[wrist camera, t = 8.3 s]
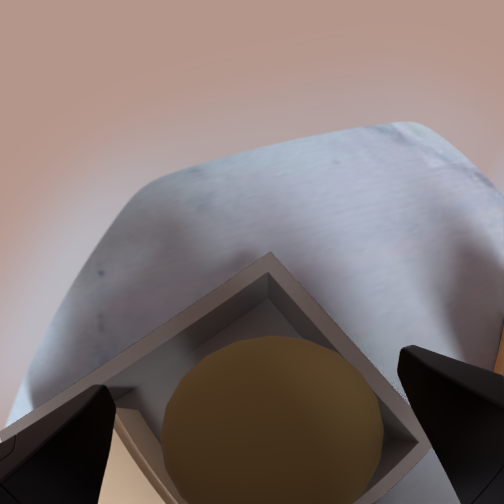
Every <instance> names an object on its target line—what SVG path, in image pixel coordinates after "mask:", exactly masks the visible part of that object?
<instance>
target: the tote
mask: <svg viewBox="0 0 504 504" xmlns="http://www.w3.org/2000/svg"><path fill="white" fill-rule="evenodd" d="M270 335H273V336H282V337H291V338H301V339H307V340H309V341H311V342H314V343H316V344H319V345H321V346H323V347H326V348H328V349H331V350H333V351H336V352H337V353H338V354H339V355H341V356H342V357H343V358H344V359H345V360H347V361H348V362H349V363H350V364H351V365H353V366H354V367H355V368H356V369H357V370H359V371H360V372H361V373H362V375H363V376H364V378H365V380H366V381H367V383H368V385H369V386H370V388H371V389H372V391H373V393H374V394H375V396H376V398H377V399H378V404H379V408H380V413H381V417H382V422H383V427H384V435H383V443H382V450H381V457H380V462H379V464H378V466H377V468H376V470H375V472H374V474H373V476H372V478H371V480H370V482H369V484H368V486H367V488H366V489H365V491H364V492H363V493H362V494H361V495H360V496H359V497H358V498H357V499H356V500H355V501H354V502H353V503H352V504H374V503H375V502H376V501H378V500H379V499H380V498H381V497H382V496H383V495H385V494H386V493H387V492H388V491H389V490H390V489H391V488H392V487H393V486H394V485H396V484H397V483H398V482H399V481H400V480H401V479H402V478H403V477H404V476H405V475H406V474H407V473H408V472H409V471H410V470H411V469H412V468H413V467H414V466H415V465H416V464H417V463H418V462H419V461H420V460H421V459H422V457H423V456H424V455H425V454H426V453H427V452H428V451H429V450H430V449H431V447H432V445H431V443H430V442H429V440H428V438H427V436H426V434H425V432H424V431H423V429H422V427H421V425H420V423H419V422H418V420H417V418H416V416H415V414H414V412H413V410H412V408H411V407H410V406H409V405H408V404H407V402H406V401H405V400H404V399H403V398H402V397H401V396H400V395H399V393H398V392H397V391H396V390H395V389H394V388H393V387H392V385H391V384H390V383H389V382H388V381H387V380H386V379H385V378H384V376H383V375H382V374H381V373H380V372H379V371H378V370H377V369H376V367H375V366H374V365H373V364H372V363H371V362H370V361H369V360H368V358H367V357H366V356H365V355H364V354H363V353H362V352H361V351H360V349H359V348H358V347H357V346H356V345H355V344H354V343H353V342H352V341H351V339H350V338H349V337H348V336H347V335H346V334H345V333H344V332H343V331H342V329H341V328H340V327H339V326H338V325H337V324H336V323H335V322H334V321H333V319H332V318H331V317H330V316H329V315H328V314H327V313H326V312H325V311H324V310H323V308H322V307H321V306H320V305H319V304H318V303H317V302H316V301H315V300H314V299H313V297H312V296H311V295H310V294H309V293H308V292H307V291H306V290H305V289H304V288H303V287H302V285H301V284H300V283H299V282H298V281H297V280H296V279H295V278H294V277H293V276H292V275H291V273H290V272H289V271H288V270H287V269H286V268H285V267H284V266H283V265H282V264H281V263H280V261H279V260H278V259H277V258H276V257H275V256H274V255H273V254H272V253H271V252H269V253H268V254H266V255H265V256H263V257H262V258H260V259H259V260H257V261H256V262H255V263H253V264H252V265H250V266H249V267H247V268H246V269H244V270H243V271H241V272H240V273H238V274H237V275H235V276H234V277H233V278H231V279H230V280H228V281H227V282H225V283H224V284H222V285H221V286H219V287H218V288H216V289H215V290H213V291H212V292H211V293H209V294H208V295H206V296H205V297H203V298H202V299H200V300H199V301H197V302H196V303H194V304H193V305H191V306H190V307H188V308H187V309H185V310H184V311H182V312H181V313H179V314H178V315H177V316H175V317H174V318H172V319H171V320H169V321H168V322H166V323H165V324H163V325H162V326H160V327H159V328H157V329H156V330H154V331H153V332H151V333H150V334H148V335H147V336H145V337H144V338H142V339H141V340H139V341H138V342H136V343H135V344H133V345H132V346H130V347H129V348H127V349H126V350H124V351H123V352H121V353H120V354H118V355H117V356H115V357H114V358H112V359H111V360H109V361H108V362H106V363H105V364H103V365H102V366H100V367H99V368H97V369H96V370H94V371H93V372H91V373H90V374H88V375H86V376H85V377H83V378H82V379H80V380H79V381H77V382H76V383H74V384H73V385H71V386H70V387H68V388H67V389H65V390H64V391H62V392H61V393H59V394H57V395H56V396H54V397H53V398H51V399H50V400H48V401H47V402H45V403H44V404H42V405H41V406H39V407H37V408H36V409H34V410H33V411H31V412H30V413H28V414H27V415H25V416H24V417H22V418H20V419H19V420H17V421H16V422H14V423H13V424H11V425H10V426H8V427H6V428H5V429H3V430H2V431H0V438H1V441H2V442H3V441H5V440H7V439H8V438H10V437H12V436H13V435H15V434H16V435H17V433H18V432H20V431H21V430H23V429H25V428H26V427H28V426H29V425H31V424H33V423H34V422H36V421H37V420H39V419H41V418H42V417H44V416H45V415H47V414H48V413H50V412H52V411H53V410H55V409H56V408H58V407H59V406H61V405H62V404H64V403H66V402H67V401H69V400H70V399H72V398H73V397H75V396H76V395H78V394H79V393H81V392H83V391H84V390H86V389H87V388H89V387H90V386H92V385H94V384H103V385H106V386H107V388H108V389H109V392H110V394H111V396H112V398H113V400H114V402H115V405H116V408H125V409H135V410H139V412H140V414H141V415H142V417H143V418H144V420H145V422H146V423H147V425H148V426H149V428H150V429H151V431H152V432H153V434H154V435H155V437H156V438H157V440H158V441H159V443H160V444H161V440H160V435H161V430H162V424H163V419H164V414H165V408H166V405H167V403H168V402H169V400H170V398H171V396H172V395H173V393H174V391H175V389H176V388H177V386H178V384H179V382H180V381H181V379H182V378H183V377H184V376H185V375H186V374H187V373H188V372H189V371H190V370H192V369H193V368H194V367H195V366H196V365H197V364H198V363H199V362H200V361H201V360H202V359H204V358H205V357H206V356H207V355H209V354H211V353H213V352H216V351H218V350H220V349H222V348H224V347H226V346H228V345H230V344H232V343H234V342H236V341H241V340H247V339H253V338H259V337H264V336H270Z"/></svg>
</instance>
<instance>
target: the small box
mask: <svg viewBox="0 0 504 504" xmlns="http://www.w3.org/2000/svg"><path fill="white" fill-rule="evenodd" d="M493 372H495V373H498V374H501V375H503V376H504V325H503V332H502V337H501V342H500V346H499V351H498V355H497V359H496V362H495V366H494V370H493Z"/></svg>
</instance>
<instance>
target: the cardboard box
mask: <svg viewBox="0 0 504 504" xmlns="http://www.w3.org/2000/svg"><path fill="white" fill-rule="evenodd" d="M98 504H188V503H187V502H186V501H185V500H184V499H183V498H182V497H181V496H180V494H179V492H178V490H177V489H176V487H175V485H174V483H173V482H172V480H171V478H170V476H169V474H168V473H167V471H166V469H165V464H164V458H163V452H162V446H161V444H160V443H159V441H158V440H157V438H156V437H155V435H154V434H153V432H152V431H151V429H150V428H149V426H148V425H147V423H146V422H145V420H144V418H143V417H142V415H141V414H140V412H139V410H135V409H125V408H116V416H115V422H114V429H113V436H112V443H111V449H110V453H109V458H108V462H107V466H106V470H105V474H104V478H103V483H102V487H101V492H100V496H99V501H98Z"/></svg>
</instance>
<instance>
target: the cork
mask: <svg viewBox="0 0 504 504" xmlns="http://www.w3.org/2000/svg"><path fill="white" fill-rule="evenodd" d="M383 435H384V427H383V422H382V417H381V413H380V408H379V404H378V399H377V398H376V396H375V394H374V393H373V391H372V389H371V388H370V386H369V385H368V383H367V381H366V380H365V378H364V376H363V375H362V373H361V372H360V371H359V370H357V369H356V368H355V367H354V366H353V365H351V364H350V363H349V362H348V361H347V360H345V359H344V358H343V357H342V356H341V355H339V354H338V353H337V352H336V351H333V350H331V349H328V348H326V347H323V346H321V345H319V344H316V343H314V342H311V341H309V340H307V339H301V338H291V337H282V336H273V335H270V336H264V337H259V338H253V339H247V340H241V341H236V342H234V343H232V344H230V345H228V346H226V347H224V348H222V349H220V350H218V351H216V352H213V353H211V354H209V355H207V356H206V357H205V358H204V359H202V360H201V361H200V362H199V363H198V364H197V365H196V366H195V367H194V368H193V369H192V370H190V371H189V372H188V373H187V374H186V375H185V376H184V377H183V378H182V379H181V381H180V382H179V384H178V386H177V388H176V389H175V391H174V393H173V395H172V396H171V398H170V400H169V402H168V403H167V405H166V408H165V414H164V419H163V424H162V430H161V435H160V440H161V446H162V452H163V458H164V464H165V469H166V471H167V473H168V474H169V476H170V478H171V480H172V482H173V483H174V485H175V487H176V489H177V490H178V492H179V494H180V496H181V497H182V498H183V499H184V500H185V501H186V502H187V503H188V504H352V503H353V502H354V501H355V500H356V499H357V498H358V497H359V496H360V495H361V494H362V493H363V492H364V491H365V489H366V488H367V486H368V484H369V482H370V480H371V478H372V476H373V474H374V472H375V470H376V468H377V466H378V464H379V462H380V457H381V450H382V443H383Z"/></svg>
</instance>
